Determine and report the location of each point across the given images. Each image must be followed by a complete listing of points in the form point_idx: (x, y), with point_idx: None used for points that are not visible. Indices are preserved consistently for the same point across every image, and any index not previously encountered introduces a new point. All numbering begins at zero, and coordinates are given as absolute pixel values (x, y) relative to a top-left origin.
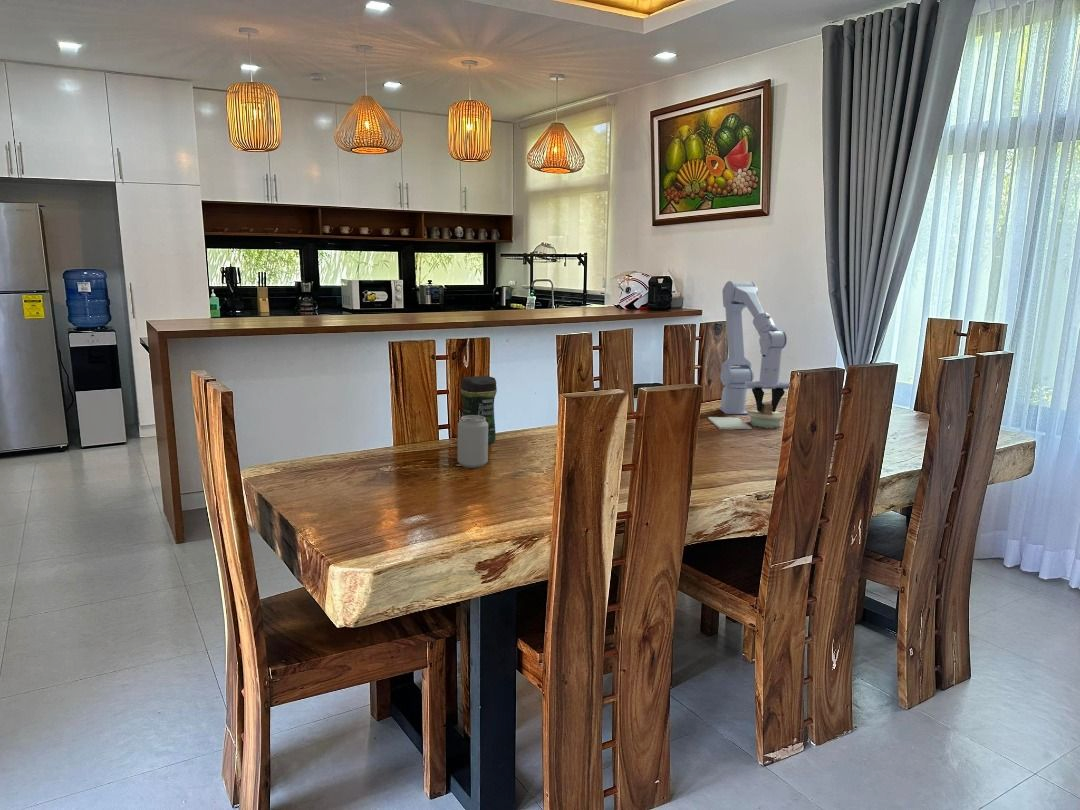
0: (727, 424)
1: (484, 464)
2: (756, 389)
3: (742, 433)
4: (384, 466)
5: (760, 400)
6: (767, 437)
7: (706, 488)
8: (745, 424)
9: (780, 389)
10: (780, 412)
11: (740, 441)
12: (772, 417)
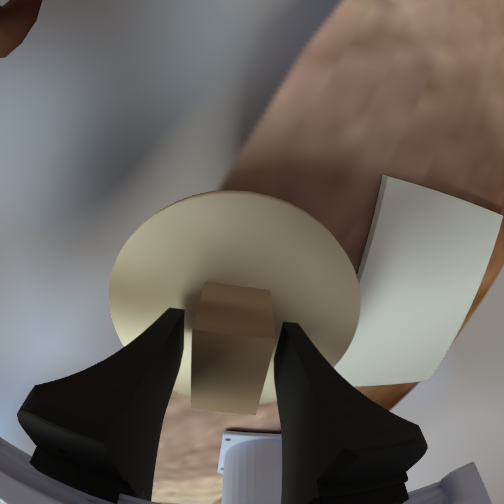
0: (454, 265)
1: None
2: (389, 487)
3: (457, 117)
4: None
5: (329, 381)
6: (370, 11)
7: None
8: (376, 260)
9: (64, 466)
10: (118, 332)
11: (492, 20)
12: (245, 195)
